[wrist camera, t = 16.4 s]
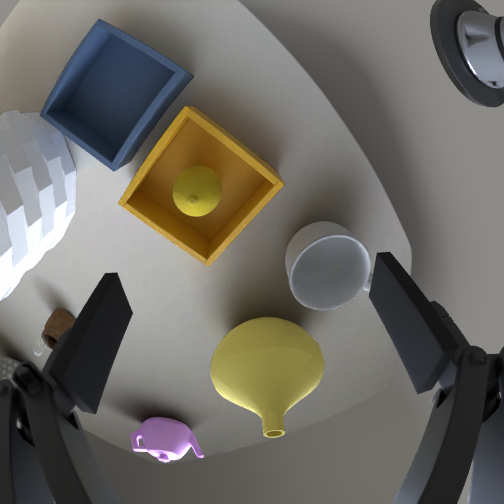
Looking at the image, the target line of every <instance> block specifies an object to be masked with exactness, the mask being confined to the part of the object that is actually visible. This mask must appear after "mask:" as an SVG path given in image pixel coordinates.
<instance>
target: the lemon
mask: <svg viewBox="0 0 504 504" xmlns="http://www.w3.org/2000/svg"><path fill="white" fill-rule="evenodd" d="M221 196H222V183H221V180H220V178H219V176H218V174H217V173H216V172H215V171H214V170H212V169H211V168H209V167H207V166H203V165H195V166H191V167H189V168H186V169H185V170H184V171H182V172H181V173H180V174H179V176H178V177H177V178H176V180H175V183H174V186H173V198H174V201H175V204H176V206H177V207H178V208H179V209H180V210H181V211H182V212H183V213H185V214H187V215H190V216H202V215H205V214H207V213H209V212H211V211H212V210H213V209H214V208H215V207H216V206H217V204H218V203H219V201H220V199H221Z"/></svg>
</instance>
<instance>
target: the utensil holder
mask: <svg viewBox="0 0 504 504" xmlns="http://www.w3.org/2000/svg"><path fill="white" fill-rule="evenodd" d="M75 321H76V319H75V318H74V316H73V315H72V314H71V313H70V312H68V311H67V310H65V309H62V308H58V309H56V310H55V311H54V312H53V313H52V314H51V316H50V318H49V319H48V321H47V322H46V324H45V329H44V330H43V332H42V340H43V342H44V344H46V345H47V346H48V347H49V348H51V349H52V350H53V349H54V347H55V345H57V341H58V339H59V338H60V336H61V334H62V333H63V332H64V331H65V330H66V329H67V328H68V327H69V328H72V326H73V324H74V323H75ZM38 340H39V339H38ZM38 340H37V341H38ZM37 341H36V342H37ZM36 342H35V343H36ZM41 344H42V343H41ZM41 344H40V345H41ZM44 344H43V345H44ZM37 345H38V344H37ZM37 345H36V346H37ZM40 345H39V346H40ZM33 346H35V345H33ZM39 346H38V347H39ZM43 348H44V347H43ZM46 348H47V347H46ZM44 350H46V349H44ZM44 350H43V351H44ZM34 353H35V349H34ZM39 353H40V352H39ZM39 353H38V354H39ZM35 354H36V353H35ZM40 354H41V353H40ZM36 355H37V354H36Z"/></svg>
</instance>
